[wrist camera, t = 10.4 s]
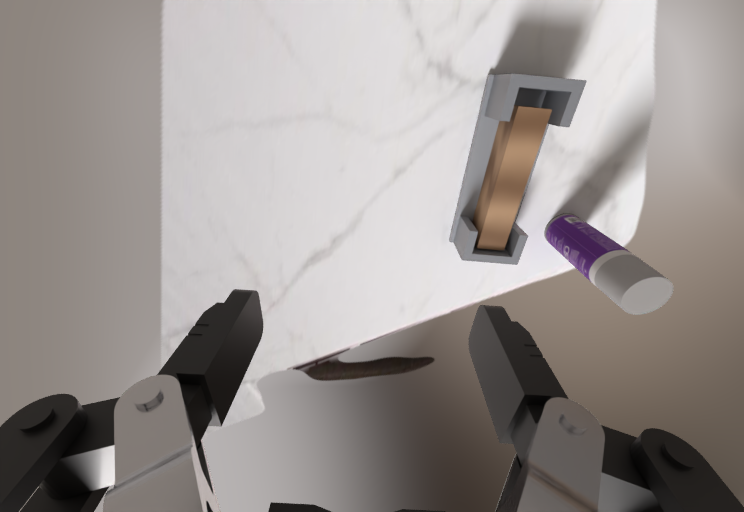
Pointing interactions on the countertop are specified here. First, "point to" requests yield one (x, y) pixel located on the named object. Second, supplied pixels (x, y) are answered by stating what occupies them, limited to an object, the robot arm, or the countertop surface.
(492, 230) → the slat
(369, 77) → the countertop surface
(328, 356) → the countertop surface
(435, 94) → the countertop surface
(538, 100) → the endcap rail
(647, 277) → the container
